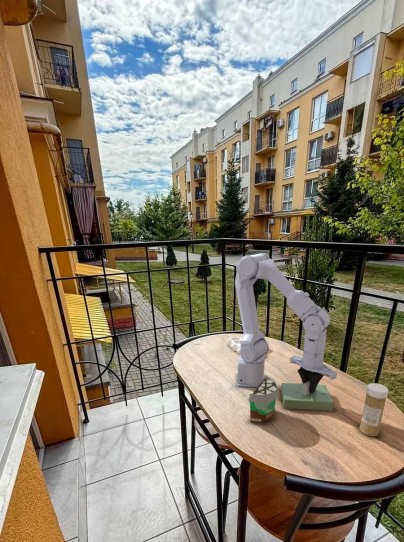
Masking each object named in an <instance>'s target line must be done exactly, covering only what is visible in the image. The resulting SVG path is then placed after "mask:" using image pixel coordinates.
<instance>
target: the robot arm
mask: <svg viewBox="0 0 404 542" xmlns="http://www.w3.org/2000/svg"><path fill="white" fill-rule="evenodd" d="M235 267H236V275H235V280H234V286H235V292H236V297H237V303H238V309H239V314H240V320H241V321H240V322H241V326H242V331H243V335H242V339H241V342H240V344H241V348H240V354H239V355H240V357H238V358H237V372H236V379H237V386H238V387H245V388H246V387H247V388H257V387H258V385H259V384H260V383H261V382H262V381H263V380H264V376H265V362H266V358H265V357H266V353H268V351H269V349H270V347H269V342H268V341H267V340H266V336H265V334H264V333H263V332H262V331H261V329H260V324H259V323H260V322H259V316H258V311H257V305H256V299H255V293H254V286H253V285H254V284H255V283H256V282H257V280H258V279H260V280H267V281H268V282H269V283H270V284H271V285H272V286H274V288H276V289H277V290H278V291H279V292H280V293H281V294H282V295H283V296H284V297H285V298H286V305H287V306H288V307H289V309H291V310H292V312H293V313H294V314H295V315H296V316H297V317H298V318H299V319H300V320H301V321H302V327H303V329H304V331H305V332H304V339H303V341H304V342H303V350H302V351H303V352H302V357H300V356H297V355H293V356H290V357H289V363H290V364H294V365H297V366H300V367H299V368H298V369H297V373H298V375H299V377H300V379H301V382H302V383H301V384H304V383H306V382H308V381H310V386H309V393H313V392H315V390H316V387H317V385H319V383H320V382H321V380H322V379H323V378H324V377H326V378H329V380H331V381H334V380H335V379H337V375H338V371H335V370H334V369H332V368H330V367H328V366H327V365H325V364H324V358H325V350H326V342H327V331H328V329H327V327H328V326H329V325H330V323H331V321H332V320H331V315H330V313H329V311H328V310H326V309H325V308H322V307H320V305H317V304H316V302H314V301H313V300H312V298H310V297H309V296H310V294H309V293H308V292H305V291H303V290H299V289H296V288H295V287H294V286H293V284H292V283H291V282H290V281H289V279H287V278H286V276H285V275H284V274H283V272H282V271H281V270H280V269H279V268H278V266H277V264H276V262H275V260H273V259H272V258H270V256H269V255H268V254H266V253H264V252H259V253H256V254H251V255H244V256H242V257H241V258H240V260H239V261H238V262H237V264H236V265H235Z"/></svg>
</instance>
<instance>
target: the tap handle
mask: <svg viewBox="0 0 404 542" xmlns="http://www.w3.org/2000/svg"><path fill="white" fill-rule="evenodd" d="M302 384H303V383H302ZM309 386H310V381H308V382H306V383H304V384H303V391H302V394H303V395H305V396H306V395H308V394H310V393H309Z"/></svg>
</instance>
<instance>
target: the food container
mask: <svg viewBox="0 0 404 542" xmlns="http://www.w3.org/2000/svg"><path fill="white" fill-rule="evenodd" d="M277 382H278V381H276V380H275V379H274V378H272V377H270V376H269V375H264V380H263V381H262V382H261V383H260V384H259V385H258V387H255V389H254V391H253V392H252V393H249V395H248V402H249V414H250V415H249V417H250V419H249V421H250V423H252V424H259V425H261V424H267V423H269V422H271V421H273V419H274V418H275V417H274V416H275V410H276V403H277V398H278V397H279V396H280V388H279V387H280V386H279V384H278V383H277Z"/></svg>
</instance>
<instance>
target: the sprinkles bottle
mask: <svg viewBox="0 0 404 542" xmlns="http://www.w3.org/2000/svg"><path fill="white" fill-rule="evenodd" d="M365 392H366V393H365V394H366V395H365V400H364V404H363V410H362V414H361V422H360V425H359V430H360V431H361V432H362V434H364V435H366V436H370V437H376V436H378V435H379V434H380V429H381V425H382V421H383V416H384V409H385V406H386V401H387V397H388V395H389V388H388V387H387V386H385V385H384V384H380V383H375V382H372V383H368V384H367V386H366V390H365Z"/></svg>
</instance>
